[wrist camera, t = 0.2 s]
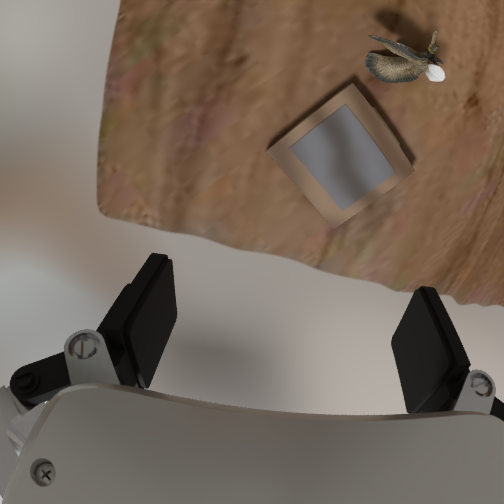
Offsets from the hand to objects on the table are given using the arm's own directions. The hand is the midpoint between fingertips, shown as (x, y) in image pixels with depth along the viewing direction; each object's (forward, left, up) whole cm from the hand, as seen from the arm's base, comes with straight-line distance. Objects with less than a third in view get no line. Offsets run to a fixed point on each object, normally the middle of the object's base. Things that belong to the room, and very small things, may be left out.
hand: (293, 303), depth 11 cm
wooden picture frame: (-4, +6, -31) cm, 31 cm away
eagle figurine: (-19, 0, -31) cm, 36 cm away
